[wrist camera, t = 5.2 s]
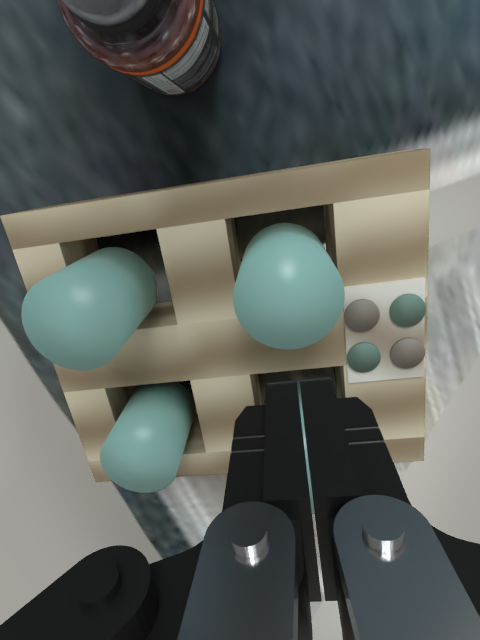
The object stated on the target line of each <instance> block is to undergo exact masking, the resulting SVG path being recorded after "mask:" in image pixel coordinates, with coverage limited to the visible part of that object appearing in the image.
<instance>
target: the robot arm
mask: <svg viewBox="0 0 480 640" xmlns="http://www.w3.org/2000/svg"><path fill="white" fill-rule="evenodd" d="M300 390H301V399H302V408H303V418H304V427H305V436H306V445H307V454H308V462H309V470H310V479H311V487H312V495H313V503H314V511H315V520H316V528H317V536H318V544H319V552H320V561H321V569H322V577H323V585H324V593H325V601H338V606H339V613H340V620H341V627H342V635H343V640H480V544H477V543H473V542H468V541H465V540H461V539H457V538H455V537H452V536H450V535H447V534H445V533H443V532H441V531H440V530H438V529H436V528H435V527H433V526H431V525H430V523H429V522H428V520H427V519H426V518H425V517H424V516H423V515H422V514H421V513H420V512H419V511H418V510H417V509H416V508H414V507H412V505H411V504H410V502H409V500H408V498H407V495H406V493H405V490H404V488H403V485H402V483H401V480H400V478H399V475H398V473H397V470H396V468H395V465H394V463H393V460H392V458H391V455H390V453H389V450H388V448H387V446H386V443H384V438H383V436H382V433H381V431H380V429H379V427H378V423H377V421H376V418H375V416H374V413H373V411H372V409H371V408H370V407H369V406H367V405H366V404H365V403H364V402H363V401H361V400H360V399H359V398H358V397H348V398H336V395H335V391H334V387H333V384H332V380H331V378H330V377H328V378H317V379H306V380H300ZM313 601H321V592H320V583H319V574H318V565H317V556H316V547H315V538H314V529H313V520H312V511H311V502H310V493H309V484H308V476H307V467H306V458H305V449H304V440H303V431H302V423H301V414H300V405H299V396H298V387H297V380H296V381H285V382H274V383H266V405H255V406H246V407H245V408H244V409H243V411H242V412H241V413H240V415H239V416H238V417H237V419H236V420H235V425H234V432H233V440H232V447H231V454H230V461H229V468H228V475H227V482H226V489H225V496H224V503H223V510H222V512H221V513H220V514H219V515H218V516H217V517H216V518H215V519H214V520H213V521H212V522H211V524H210V525H209V527H208V529H207V531H206V534H205V536H204V540H203V541H202V542H200V543H199V544H197V545H196V546H194V547H193V548H191V549H189V550H187V551H184V552H182V553H180V554H177V555H174V556H171V557H168V558H165V559H163V560H160V561H157V562H154V563H151V564H148V561H147V559H146V557H145V556H144V555H143V554H142V553H141V552H140V551H138V550H137V549H135V548H132V547H129V546H111V547H107V548H103V549H100V550H98V551H96V552H93V553H92V554H90V555H88V556H86V557H85V558H84V559H82V560H81V561H79V562H78V563H77V564H76V565H74V566H73V567H72V568H71V569H69V570H68V571H67V572H66V573H64V574H63V575H62V576H61V577H59V578H58V579H57V580H56V581H54V582H53V583H52V584H51V585H50V586H48V587H47V588H46V589H45V590H43V591H42V592H41V593H40V594H38V595H37V596H36V597H35V598H34V599H32V600H31V601H30V602H29V603H27V604H26V605H25V606H24V607H22V608H21V609H20V610H19V611H17V612H16V613H15V614H14V615H13V616H11V617H10V618H9V619H8V620H6V621H5V622H4V623H3V624H2V625H0V640H312V622H311V610H310V602H313Z"/></svg>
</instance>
